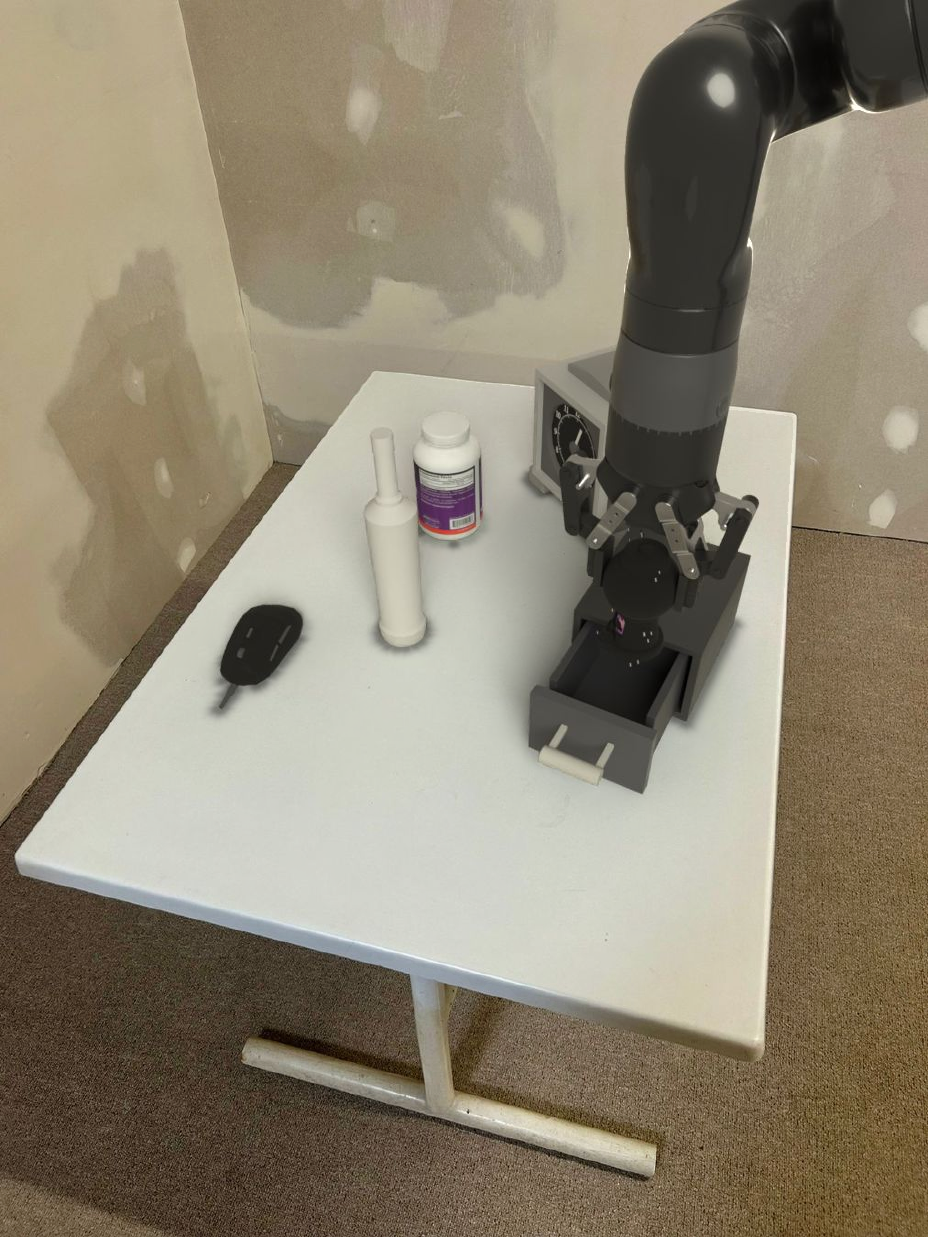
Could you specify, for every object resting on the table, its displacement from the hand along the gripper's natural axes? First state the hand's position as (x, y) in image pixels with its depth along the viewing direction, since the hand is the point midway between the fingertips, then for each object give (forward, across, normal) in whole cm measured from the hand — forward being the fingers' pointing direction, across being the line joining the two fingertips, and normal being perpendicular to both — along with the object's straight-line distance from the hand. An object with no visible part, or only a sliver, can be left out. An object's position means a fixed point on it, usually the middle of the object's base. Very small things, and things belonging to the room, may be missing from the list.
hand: (640, 591), depth 66 cm
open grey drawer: (+20, +2, -2) cm, 21 cm away
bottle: (+22, +27, -6) cm, 35 cm away
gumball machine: (+6, 0, 0) cm, 6 cm away
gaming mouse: (+22, +39, +5) cm, 45 cm away
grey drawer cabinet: (+21, +2, -15) cm, 26 cm away
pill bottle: (+22, +32, -24) cm, 46 cm away
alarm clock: (+22, +17, -38) cm, 47 cm away
